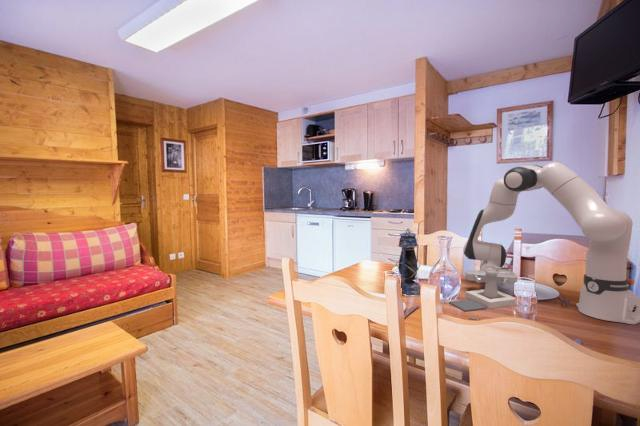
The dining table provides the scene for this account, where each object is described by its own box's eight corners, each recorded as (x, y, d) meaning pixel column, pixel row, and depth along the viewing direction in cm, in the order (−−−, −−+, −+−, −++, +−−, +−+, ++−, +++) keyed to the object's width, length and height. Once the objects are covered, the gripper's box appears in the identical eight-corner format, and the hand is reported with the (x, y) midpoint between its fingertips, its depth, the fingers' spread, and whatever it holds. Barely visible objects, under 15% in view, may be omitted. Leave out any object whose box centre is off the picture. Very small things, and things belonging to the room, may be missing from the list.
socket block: (491, 293, 140) (491, 288, 140) (518, 304, 127) (518, 298, 127) (465, 297, 137) (465, 291, 137) (489, 308, 123) (489, 302, 123)
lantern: (416, 299, 136) (415, 231, 134) (389, 294, 143) (389, 229, 141) (426, 289, 149) (426, 227, 146) (401, 285, 156) (401, 226, 154)
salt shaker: (500, 303, 128) (501, 272, 128) (485, 302, 130) (486, 272, 129) (495, 298, 134) (496, 269, 133) (481, 298, 135) (481, 268, 134)
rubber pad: (468, 300, 133) (468, 299, 133) (486, 308, 123) (486, 307, 123) (448, 303, 130) (448, 301, 130) (464, 311, 121) (465, 310, 121)
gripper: (465, 265, 151) (464, 272, 138) (515, 269, 141) (518, 277, 129) (465, 278, 151) (464, 286, 139) (515, 282, 142) (518, 291, 130)
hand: (491, 281), depth 134 cm, fingers open, 8 cm apart
